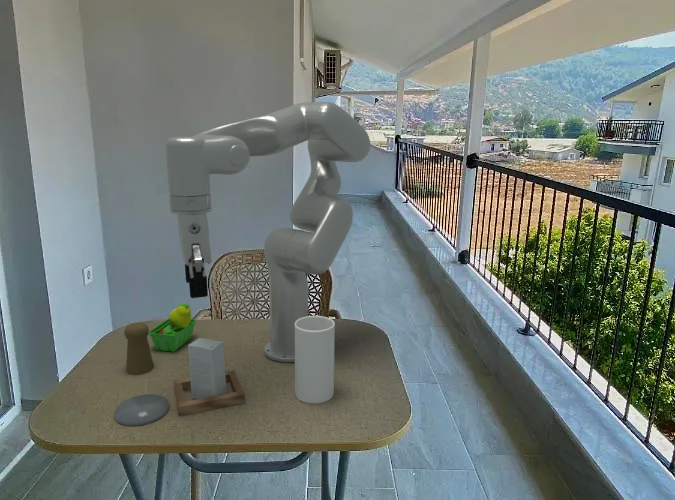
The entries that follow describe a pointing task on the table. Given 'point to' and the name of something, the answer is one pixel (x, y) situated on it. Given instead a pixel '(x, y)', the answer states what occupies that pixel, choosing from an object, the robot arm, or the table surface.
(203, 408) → the walnut holder
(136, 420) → the slate coaster
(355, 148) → the robot arm
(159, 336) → the fruit basket
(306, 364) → the cup
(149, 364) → the cork
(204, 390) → the skincare box
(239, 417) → the table surface
